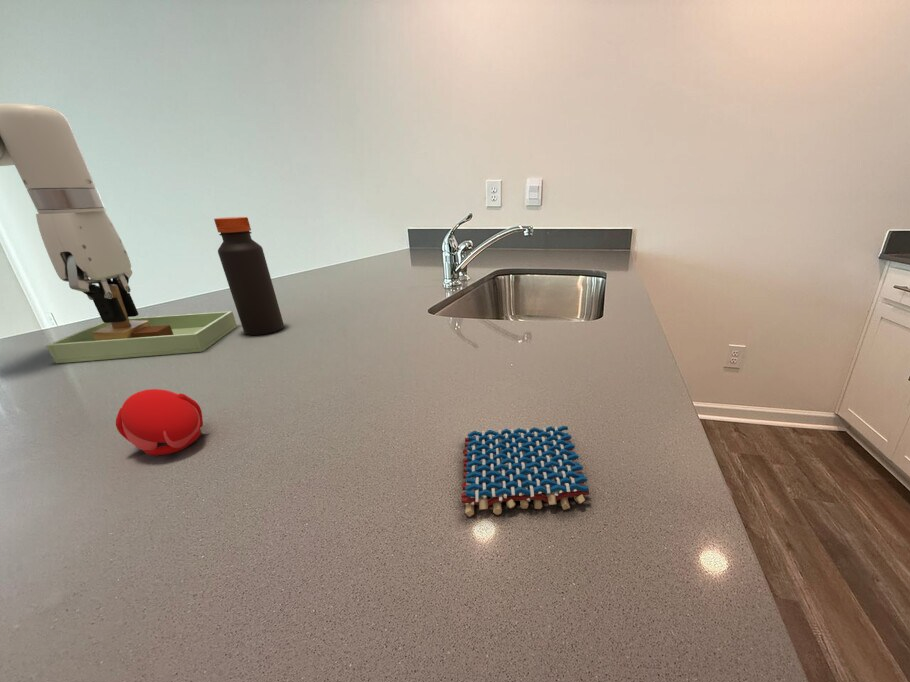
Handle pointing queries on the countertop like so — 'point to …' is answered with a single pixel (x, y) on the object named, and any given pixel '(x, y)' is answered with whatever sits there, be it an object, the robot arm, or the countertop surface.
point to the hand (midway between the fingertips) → (121, 318)
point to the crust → (153, 331)
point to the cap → (159, 421)
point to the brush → (119, 323)
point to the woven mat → (521, 469)
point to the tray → (147, 339)
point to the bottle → (248, 277)
